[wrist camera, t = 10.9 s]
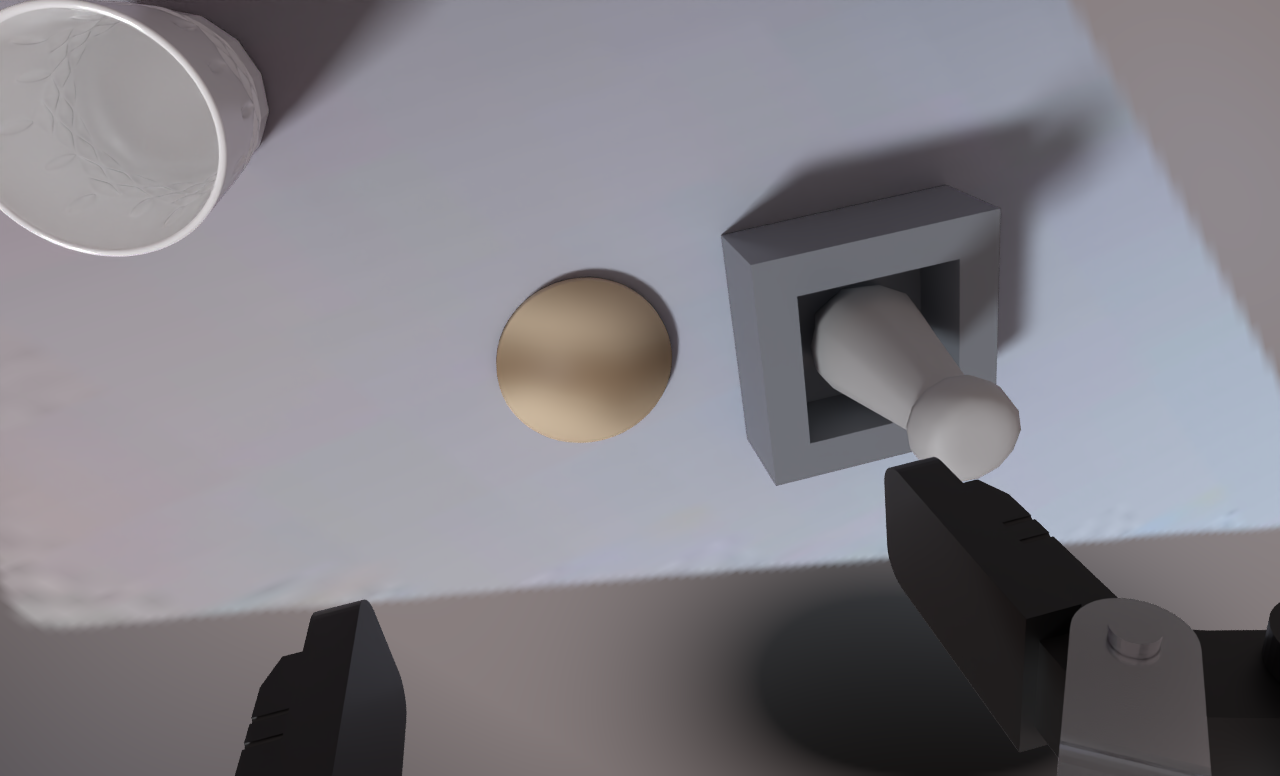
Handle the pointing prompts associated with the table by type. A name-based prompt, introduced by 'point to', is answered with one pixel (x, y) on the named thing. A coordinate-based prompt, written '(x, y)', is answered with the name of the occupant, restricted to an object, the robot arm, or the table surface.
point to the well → (813, 274)
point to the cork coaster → (583, 360)
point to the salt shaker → (912, 380)
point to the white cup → (121, 122)
